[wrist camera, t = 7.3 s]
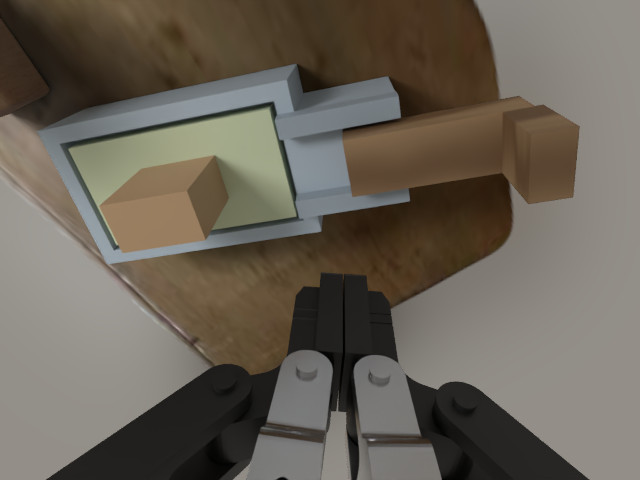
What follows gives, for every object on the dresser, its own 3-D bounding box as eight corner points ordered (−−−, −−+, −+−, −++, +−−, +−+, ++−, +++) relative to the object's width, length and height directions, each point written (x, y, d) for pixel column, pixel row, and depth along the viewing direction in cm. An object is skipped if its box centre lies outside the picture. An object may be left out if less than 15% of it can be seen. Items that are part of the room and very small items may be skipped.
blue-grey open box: (86, 107, 32) (24, 137, 26) (384, 45, 29) (394, 61, 23) (140, 225, 37) (99, 273, 31) (400, 182, 34) (412, 226, 28)
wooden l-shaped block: (342, 128, 26) (341, 167, 20) (526, 94, 24) (579, 126, 19) (352, 181, 27) (353, 230, 22) (524, 152, 26) (572, 197, 20)
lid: (81, 140, 29) (10, 182, 23) (273, 102, 27) (251, 137, 21) (126, 234, 32) (74, 292, 26) (298, 206, 30) (287, 261, 24)
